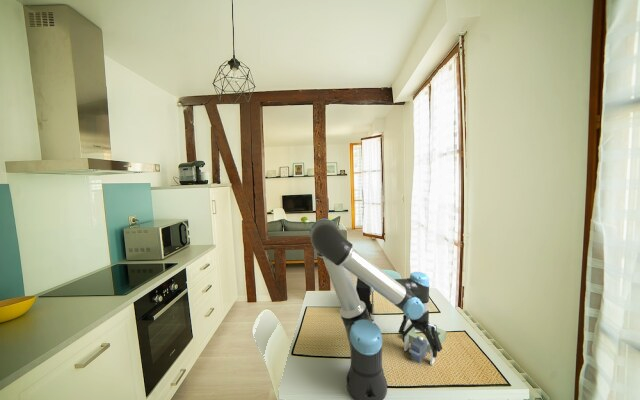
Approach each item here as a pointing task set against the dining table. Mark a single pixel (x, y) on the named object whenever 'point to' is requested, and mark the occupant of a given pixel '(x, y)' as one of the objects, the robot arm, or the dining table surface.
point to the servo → (418, 349)
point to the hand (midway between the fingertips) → (418, 356)
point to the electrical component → (365, 296)
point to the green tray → (413, 336)
